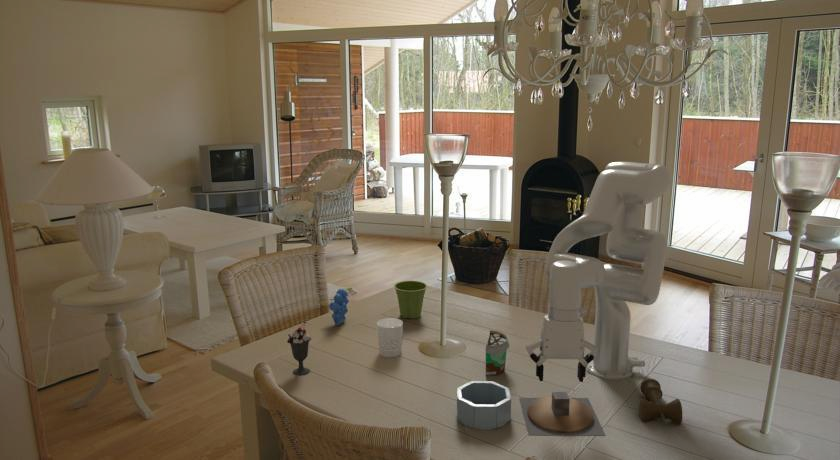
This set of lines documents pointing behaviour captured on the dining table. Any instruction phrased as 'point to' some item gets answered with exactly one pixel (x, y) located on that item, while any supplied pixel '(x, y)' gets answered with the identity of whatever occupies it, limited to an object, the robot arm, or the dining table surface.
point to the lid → (560, 413)
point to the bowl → (483, 405)
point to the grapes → (339, 306)
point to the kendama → (657, 404)
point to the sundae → (300, 349)
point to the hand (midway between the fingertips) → (560, 379)
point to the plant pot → (410, 298)
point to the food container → (496, 353)
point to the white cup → (390, 337)
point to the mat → (536, 430)
